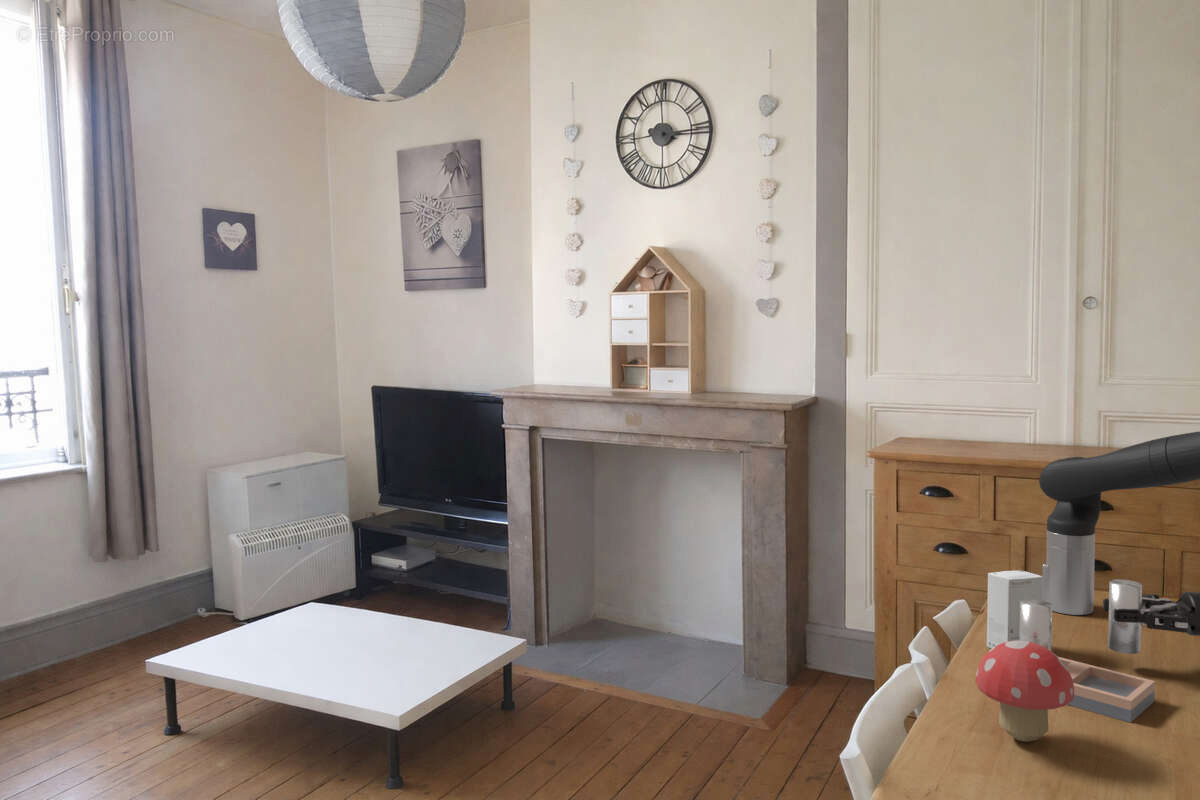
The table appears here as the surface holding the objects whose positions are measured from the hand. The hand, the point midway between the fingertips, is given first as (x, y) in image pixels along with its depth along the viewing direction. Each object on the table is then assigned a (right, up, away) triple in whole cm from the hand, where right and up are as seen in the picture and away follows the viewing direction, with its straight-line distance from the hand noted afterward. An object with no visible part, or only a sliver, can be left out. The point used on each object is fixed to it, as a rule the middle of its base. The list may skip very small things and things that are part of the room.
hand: (1109, 609), depth 157 cm
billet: (+3, -7, 0) cm, 7 cm away
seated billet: (-16, -10, -5) cm, 19 cm away
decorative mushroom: (-28, -14, -25) cm, 40 cm away
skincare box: (-12, -10, +11) cm, 19 cm away
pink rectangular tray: (-12, -12, -9) cm, 19 cm away
